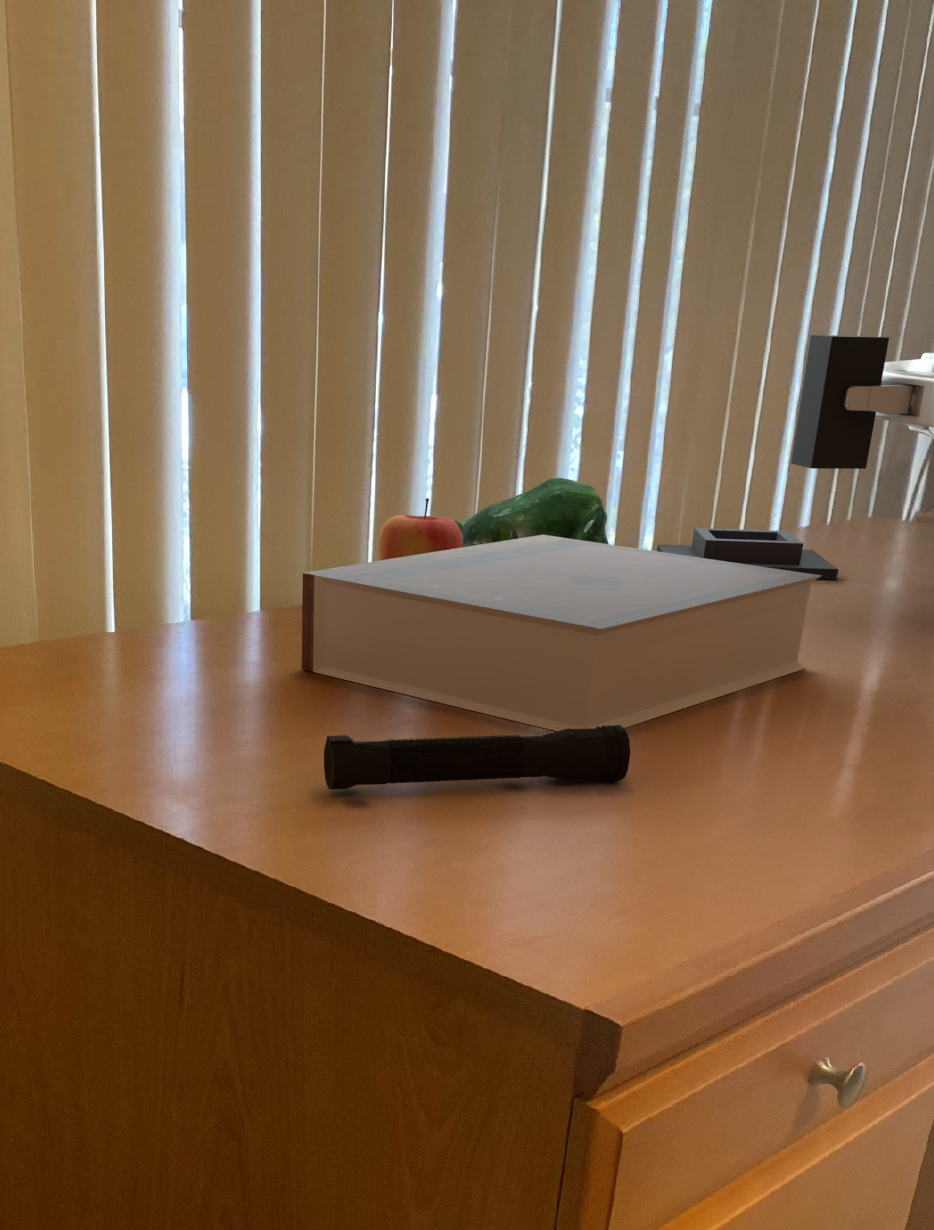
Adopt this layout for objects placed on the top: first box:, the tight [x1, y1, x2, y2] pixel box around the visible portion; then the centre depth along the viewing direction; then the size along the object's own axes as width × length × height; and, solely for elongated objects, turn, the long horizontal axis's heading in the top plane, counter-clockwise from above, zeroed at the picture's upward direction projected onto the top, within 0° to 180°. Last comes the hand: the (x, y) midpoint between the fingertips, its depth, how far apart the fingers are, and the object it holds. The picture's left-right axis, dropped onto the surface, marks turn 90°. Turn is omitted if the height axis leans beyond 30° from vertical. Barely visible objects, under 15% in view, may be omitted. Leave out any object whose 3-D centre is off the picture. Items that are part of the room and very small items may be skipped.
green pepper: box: [453, 477, 609, 547], centre depth 136 cm, size 14×9×15 cm
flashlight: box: [323, 725, 632, 790], centre depth 79 cm, size 3×16×3 cm, turn 102°
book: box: [301, 535, 822, 732], centre depth 103 cm, size 24×28×6 cm
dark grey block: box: [790, 334, 890, 470], centre depth 122 cm, size 5×4×10 cm
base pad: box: [656, 527, 839, 581], centre depth 146 cm, size 16×12×3 cm
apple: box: [378, 497, 463, 561], centre depth 126 cm, size 7×7×8 cm
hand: (829, 395), depth 122 cm, fingers closed on dark grey block, 4 cm apart
